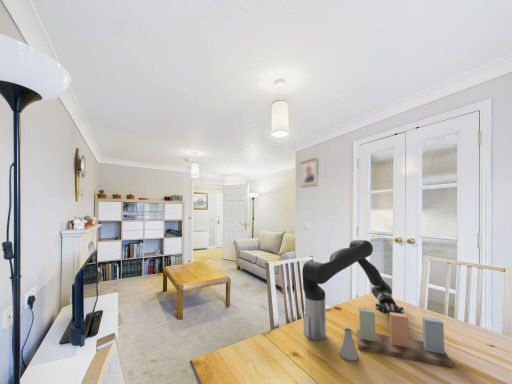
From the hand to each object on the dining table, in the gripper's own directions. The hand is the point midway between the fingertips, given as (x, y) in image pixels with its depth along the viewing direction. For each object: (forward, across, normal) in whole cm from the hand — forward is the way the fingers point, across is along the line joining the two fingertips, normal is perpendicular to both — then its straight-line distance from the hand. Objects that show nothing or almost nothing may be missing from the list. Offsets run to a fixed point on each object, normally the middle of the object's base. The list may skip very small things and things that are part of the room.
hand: (392, 316), depth 109 cm
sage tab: (+12, -12, +6) cm, 18 cm away
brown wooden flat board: (+12, 0, +8) cm, 15 cm away
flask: (+24, -20, +8) cm, 32 cm away
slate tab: (+12, +12, +6) cm, 18 cm away
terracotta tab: (+12, 0, +6) cm, 14 cm away
